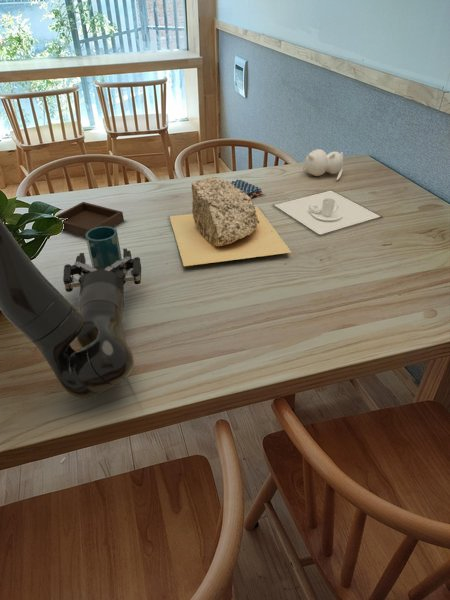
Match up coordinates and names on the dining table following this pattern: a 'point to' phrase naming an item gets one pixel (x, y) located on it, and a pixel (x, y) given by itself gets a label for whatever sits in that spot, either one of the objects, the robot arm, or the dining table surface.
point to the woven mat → (247, 188)
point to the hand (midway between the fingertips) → (104, 254)
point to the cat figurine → (324, 163)
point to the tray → (89, 218)
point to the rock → (223, 226)
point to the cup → (103, 246)
